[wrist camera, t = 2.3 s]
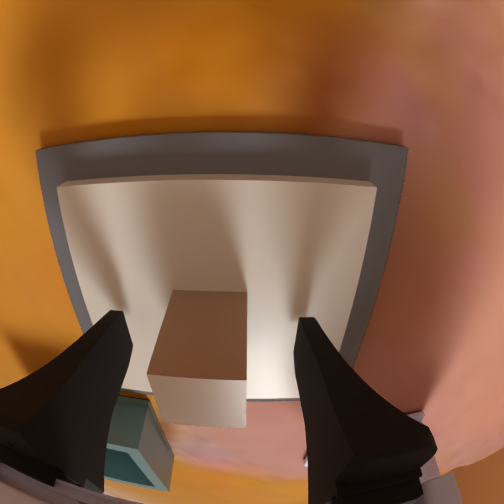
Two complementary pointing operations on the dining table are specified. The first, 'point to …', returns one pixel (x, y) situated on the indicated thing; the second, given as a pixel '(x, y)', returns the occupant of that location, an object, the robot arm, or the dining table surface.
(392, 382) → the dining table surface
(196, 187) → the lid
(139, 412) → the teal square tray
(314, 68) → the dining table surface
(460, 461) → the dining table surface
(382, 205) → the mat
